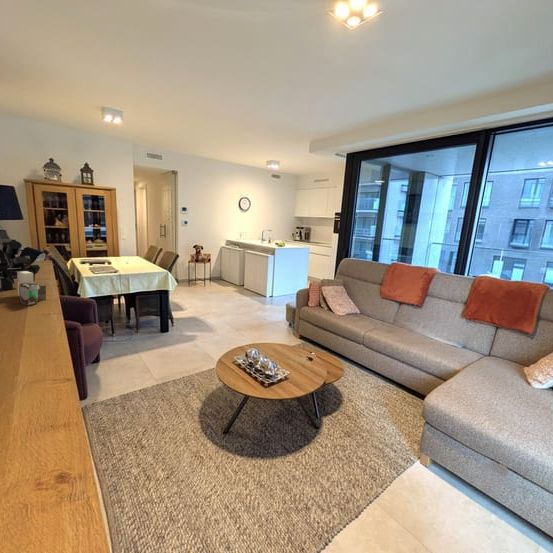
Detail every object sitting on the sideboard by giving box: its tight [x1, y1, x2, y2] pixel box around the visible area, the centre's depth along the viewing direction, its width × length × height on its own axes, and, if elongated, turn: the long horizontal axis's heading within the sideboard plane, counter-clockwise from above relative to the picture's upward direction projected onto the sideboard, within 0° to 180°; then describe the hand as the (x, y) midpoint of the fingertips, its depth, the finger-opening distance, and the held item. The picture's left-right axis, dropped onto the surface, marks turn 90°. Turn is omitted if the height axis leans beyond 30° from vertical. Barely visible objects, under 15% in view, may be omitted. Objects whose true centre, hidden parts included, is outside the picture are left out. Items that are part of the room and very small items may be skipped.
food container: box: [19, 282, 40, 307], centre depth 154 cm, size 12×6×10 cm, turn 58°
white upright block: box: [16, 271, 35, 297], centre depth 164 cm, size 8×4×14 cm, turn 62°
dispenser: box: [19, 283, 47, 302], centre depth 159 cm, size 5×10×8 cm, turn 152°
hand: (24, 282), depth 165 cm, fingers open, 9 cm apart
